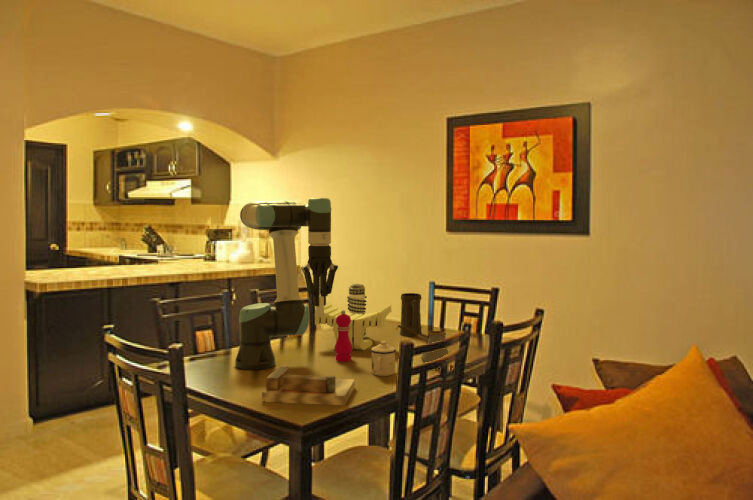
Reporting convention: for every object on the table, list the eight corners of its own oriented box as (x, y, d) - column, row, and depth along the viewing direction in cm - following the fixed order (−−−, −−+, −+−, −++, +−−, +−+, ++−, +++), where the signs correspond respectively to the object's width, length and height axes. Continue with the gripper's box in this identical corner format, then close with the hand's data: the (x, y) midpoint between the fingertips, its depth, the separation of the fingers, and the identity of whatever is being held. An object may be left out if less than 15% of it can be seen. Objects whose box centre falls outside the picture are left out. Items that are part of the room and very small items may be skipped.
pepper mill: (350, 362, 233) (349, 311, 232) (332, 361, 234) (332, 311, 233) (354, 358, 240) (354, 309, 239) (337, 357, 242) (337, 308, 240)
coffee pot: (452, 362, 233) (453, 324, 232) (448, 370, 222) (448, 330, 221) (399, 359, 238) (399, 322, 238) (392, 366, 227) (392, 327, 227)
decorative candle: (351, 334, 288) (351, 283, 286) (369, 335, 285) (369, 283, 283) (344, 337, 279) (344, 285, 278) (362, 339, 276) (362, 285, 275)
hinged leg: (282, 389, 185) (282, 376, 185) (286, 386, 189) (286, 373, 188) (333, 393, 182) (333, 379, 181) (336, 389, 185) (336, 376, 185)
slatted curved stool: (315, 348, 258) (314, 307, 257) (328, 340, 273) (328, 302, 272) (381, 353, 249) (381, 310, 248) (391, 345, 264) (391, 305, 263)
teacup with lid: (374, 369, 223) (374, 338, 222) (398, 370, 221) (398, 339, 220) (365, 377, 212) (365, 345, 211) (390, 379, 209) (390, 346, 208)
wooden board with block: (262, 401, 184) (261, 379, 183) (279, 385, 202) (279, 365, 201) (344, 405, 180) (344, 382, 180) (354, 388, 198) (354, 367, 198)
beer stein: (396, 332, 292) (397, 292, 290) (416, 331, 295) (417, 291, 293) (407, 340, 278) (408, 299, 275) (428, 339, 281) (429, 298, 278)
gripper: (307, 245, 189) (307, 319, 191) (342, 244, 196) (342, 315, 198) (296, 244, 195) (297, 315, 197) (331, 243, 203) (331, 312, 204)
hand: (320, 315), depth 197 cm, fingers closed
